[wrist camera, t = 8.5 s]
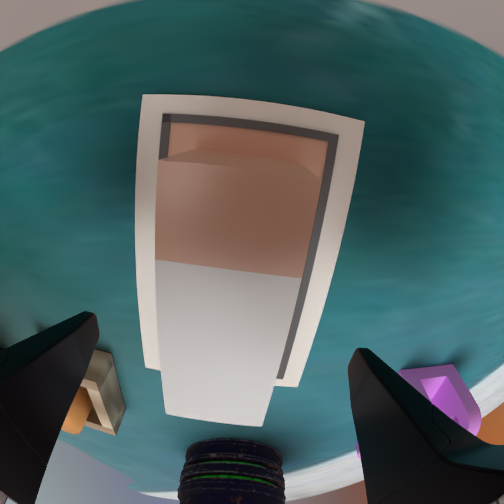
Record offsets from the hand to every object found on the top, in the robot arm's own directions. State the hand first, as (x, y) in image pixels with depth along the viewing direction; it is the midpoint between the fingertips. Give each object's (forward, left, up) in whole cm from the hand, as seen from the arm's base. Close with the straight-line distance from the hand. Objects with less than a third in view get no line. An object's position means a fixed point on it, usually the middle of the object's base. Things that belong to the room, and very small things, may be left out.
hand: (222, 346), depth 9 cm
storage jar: (-22, -2, -7) cm, 23 cm away
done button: (-12, +12, -5) cm, 17 cm away
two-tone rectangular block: (0, 0, -6) cm, 6 cm away
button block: (-12, +12, -7) cm, 18 cm away
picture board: (0, 0, -7) cm, 7 cm away
